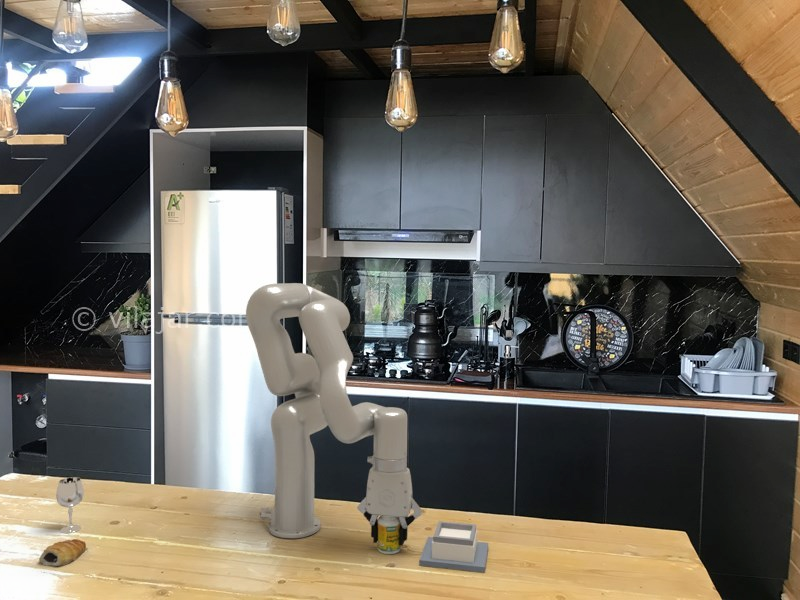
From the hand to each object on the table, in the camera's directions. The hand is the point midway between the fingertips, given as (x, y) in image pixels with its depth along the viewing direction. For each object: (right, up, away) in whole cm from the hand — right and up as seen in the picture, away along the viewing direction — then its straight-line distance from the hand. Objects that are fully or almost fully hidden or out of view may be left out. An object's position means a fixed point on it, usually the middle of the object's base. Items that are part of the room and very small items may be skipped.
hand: (389, 540), depth 143 cm
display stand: (+15, -2, -3) cm, 15 cm away
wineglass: (-77, -1, +9) cm, 77 cm away
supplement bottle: (0, -2, 0) cm, 2 cm away
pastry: (-71, -2, -6) cm, 71 cm away
